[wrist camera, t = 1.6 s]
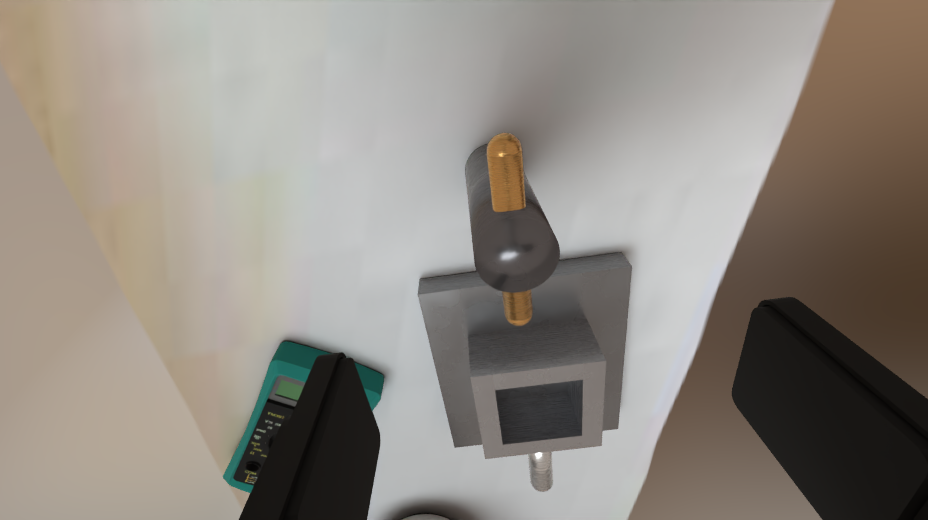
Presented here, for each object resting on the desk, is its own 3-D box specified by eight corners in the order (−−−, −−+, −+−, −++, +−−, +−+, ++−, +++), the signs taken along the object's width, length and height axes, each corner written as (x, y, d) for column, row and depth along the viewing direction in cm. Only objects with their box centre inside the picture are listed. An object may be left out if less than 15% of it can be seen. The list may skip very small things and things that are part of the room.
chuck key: (454, 98, 19) (458, 150, 11) (513, 89, 19) (556, 136, 11) (474, 237, 23) (487, 347, 15) (523, 231, 23) (561, 338, 15)
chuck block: (419, 279, 24) (413, 334, 20) (621, 252, 24) (659, 303, 19) (459, 448, 33) (460, 513, 28) (609, 431, 32) (633, 495, 28)
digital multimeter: (232, 456, 33) (215, 492, 30) (285, 331, 27) (268, 364, 24) (320, 478, 35) (310, 514, 33) (389, 367, 29) (383, 401, 26)
